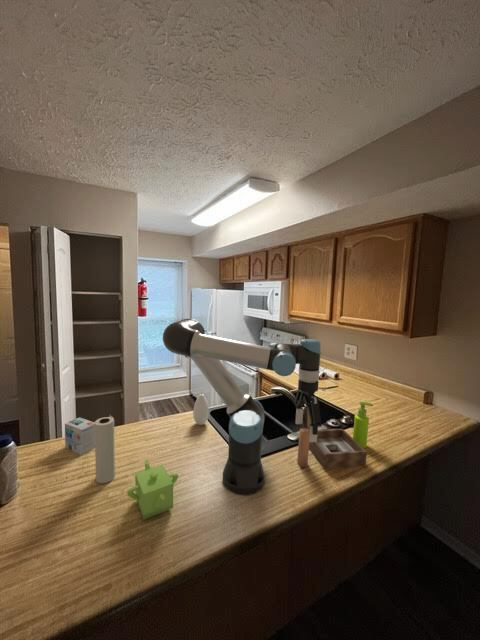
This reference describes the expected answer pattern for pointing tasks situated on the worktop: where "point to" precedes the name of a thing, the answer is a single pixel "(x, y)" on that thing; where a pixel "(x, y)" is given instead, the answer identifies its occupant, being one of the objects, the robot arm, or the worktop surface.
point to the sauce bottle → (201, 410)
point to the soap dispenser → (361, 425)
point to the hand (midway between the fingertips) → (305, 432)
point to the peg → (303, 447)
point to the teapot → (153, 490)
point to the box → (343, 443)
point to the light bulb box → (80, 435)
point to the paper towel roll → (104, 449)
